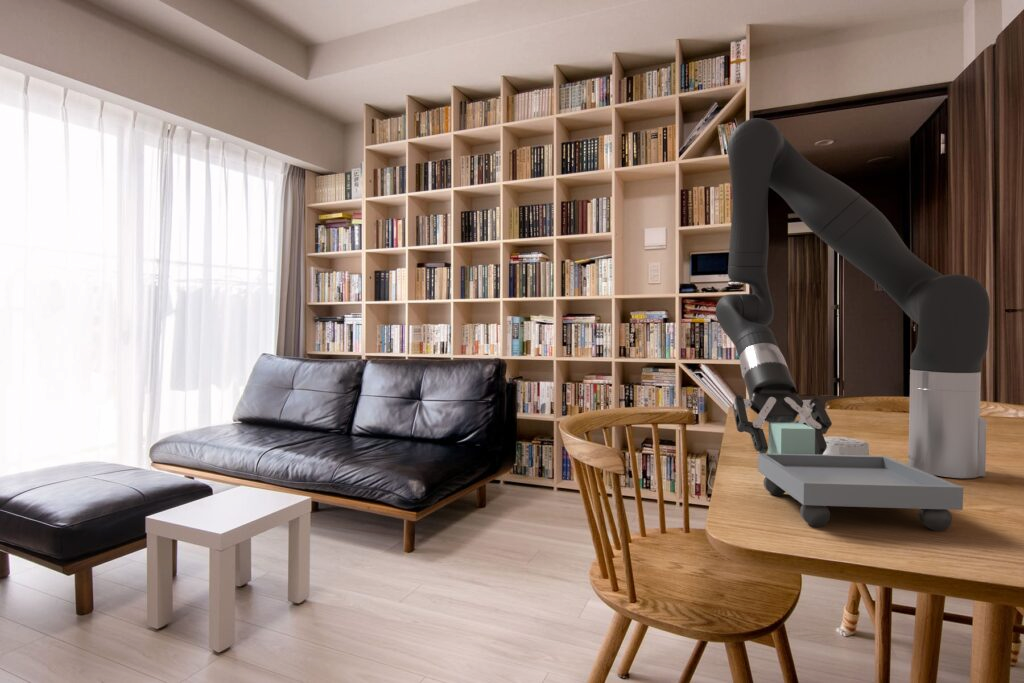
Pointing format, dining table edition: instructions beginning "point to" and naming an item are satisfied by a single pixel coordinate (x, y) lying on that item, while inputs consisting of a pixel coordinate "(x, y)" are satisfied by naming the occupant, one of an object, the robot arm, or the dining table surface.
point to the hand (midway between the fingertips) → (792, 452)
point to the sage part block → (791, 438)
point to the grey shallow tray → (859, 486)
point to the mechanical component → (845, 446)
